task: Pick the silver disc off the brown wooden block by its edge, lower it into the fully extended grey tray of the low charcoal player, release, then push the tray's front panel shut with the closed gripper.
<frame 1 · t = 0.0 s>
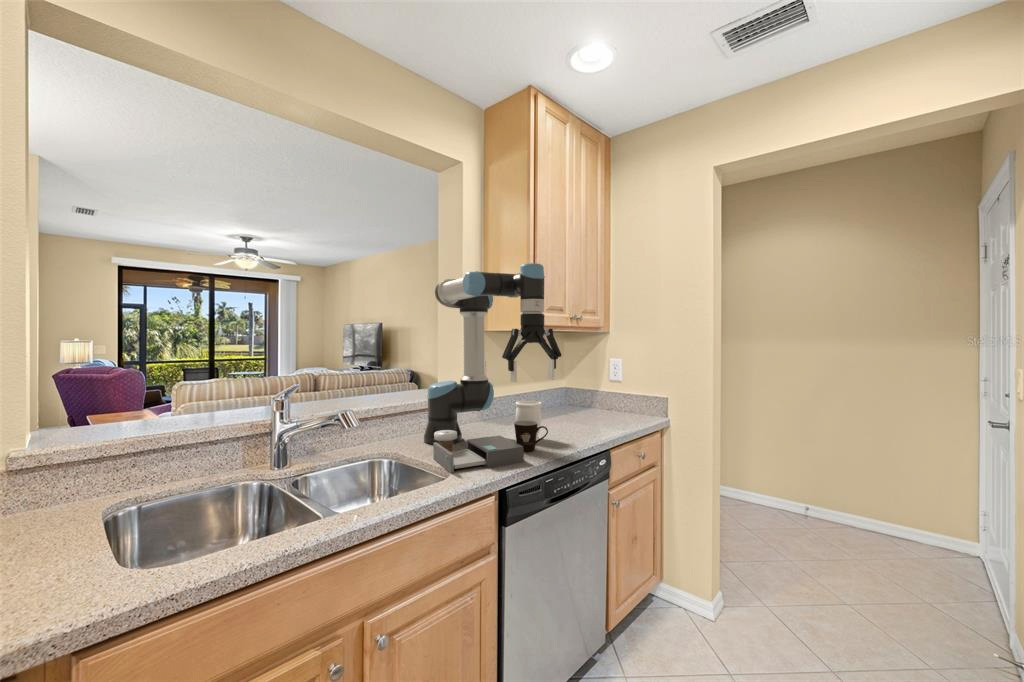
hand: (532, 380, 142), 28 cm above the worktop, fingers open, 13 cm apart
coffee mug: (529, 451, 164), on the worktop
brown wooden block: (445, 455, 159), on the worktop
tray: (459, 454, 149), point 3 cm above the worktop, slide at 11.0 cm
housing: (494, 457, 155), on the worktop
disc: (445, 438, 158), point 6 cm above the worktop, touching brown wooden block
jar: (528, 439, 181), on the worktop
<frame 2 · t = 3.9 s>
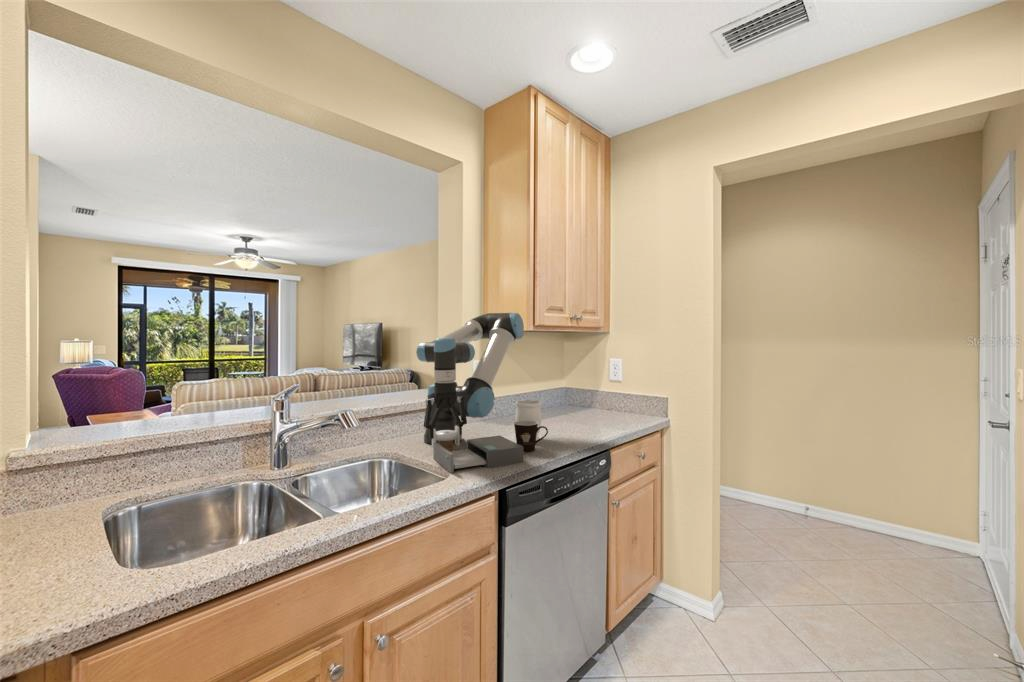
hand: (445, 445, 158), 3 cm above the worktop, fingers closed on disc, 8 cm apart
disc: (445, 438, 158), point 6 cm above the worktop, touching gripper, brown wooden block
everything else where it was.
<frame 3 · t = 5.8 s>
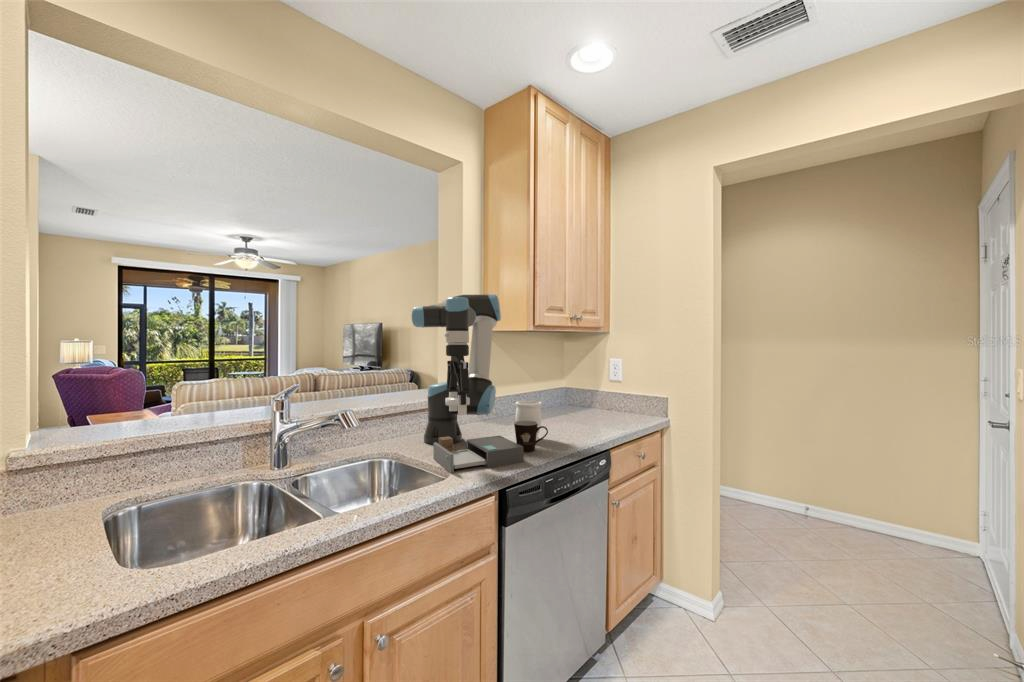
hand: (457, 412, 148), 17 cm above the worktop, fingers closed on disc, 8 cm apart
disc: (457, 404, 148), point 20 cm above the worktop, touching gripper
everything else where it was.
when the fingers open (3 cm above the worktop, at t = 7.9 s): disc drops 4 cm, resting on tray.
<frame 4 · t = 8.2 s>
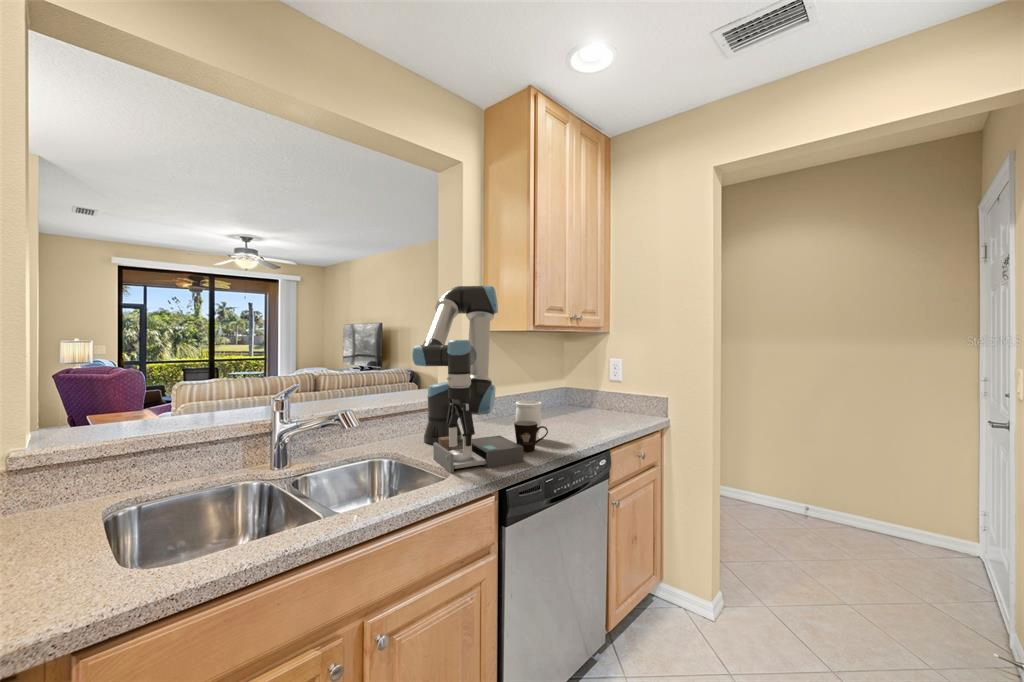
hand: (460, 451, 149), 4 cm above the worktop, fingers open, 12 cm apart
tray: (459, 454, 149), point 3 cm above the worktop, slide at 11.0 cm, touching disc
disc: (460, 458, 149), point 2 cm above the worktop, touching tray
everything else where it was.
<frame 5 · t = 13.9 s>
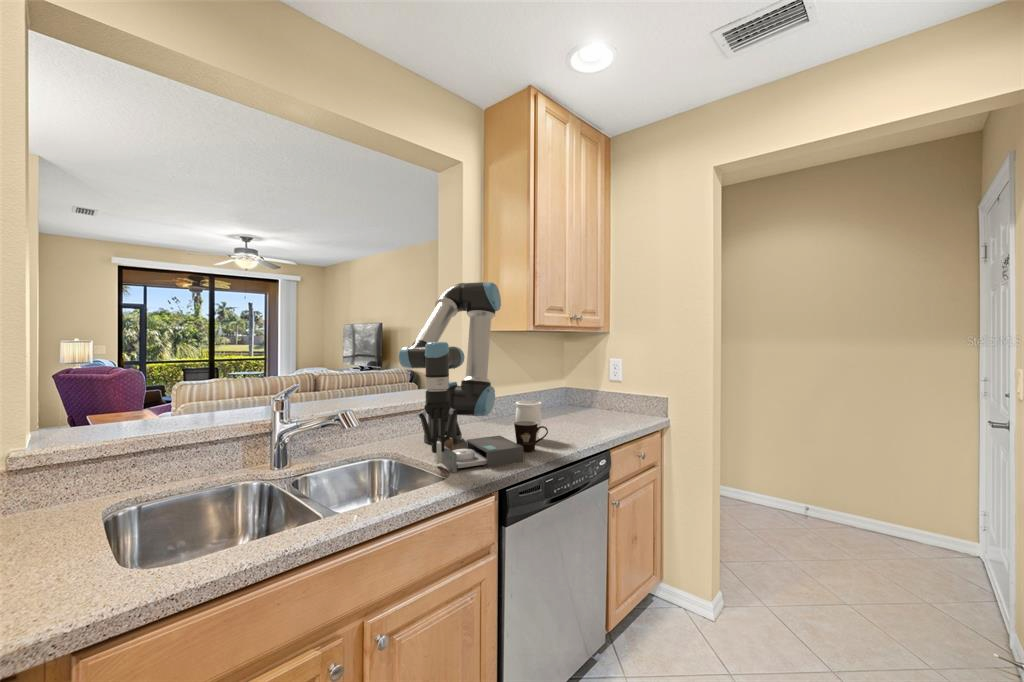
hand: (438, 462, 145), 1 cm above the worktop, fingers closed
tray: (461, 454, 149), point 3 cm above the worktop, slide at 10.0 cm, touching disc, gripper
disc: (462, 457, 149), point 2 cm above the worktop, touching tray
everything else where it was.
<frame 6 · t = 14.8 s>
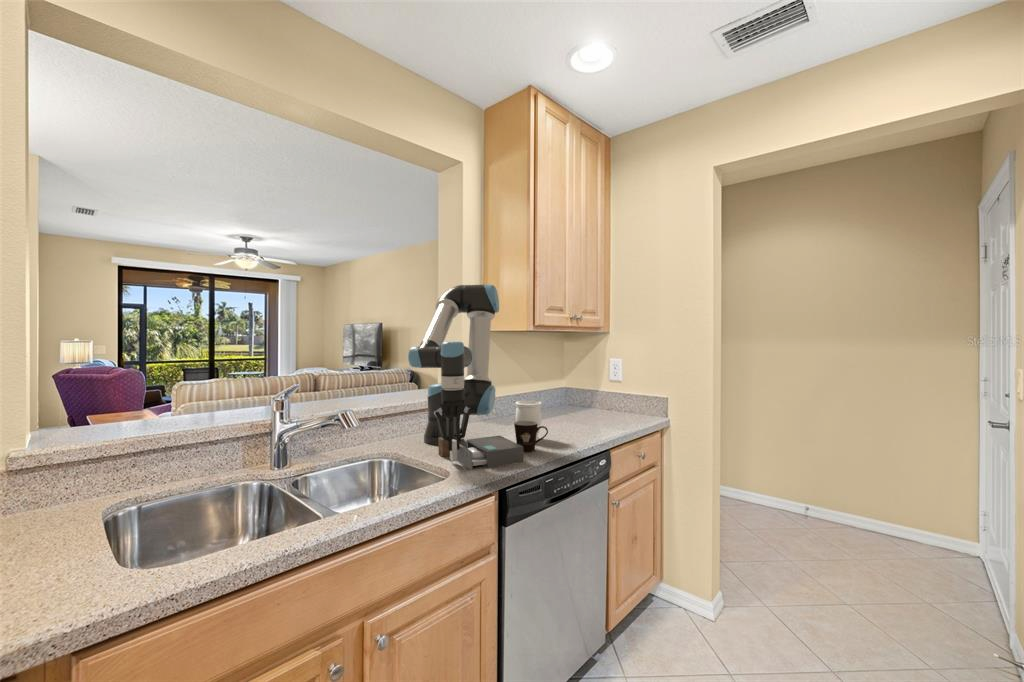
hand: (453, 459, 148), 1 cm above the worktop, fingers closed
tray: (476, 452, 151), point 3 cm above the worktop, slide at 4.7 cm, touching disc, gripper
disc: (477, 455, 152), point 2 cm above the worktop, touching tray
everything else where it was.
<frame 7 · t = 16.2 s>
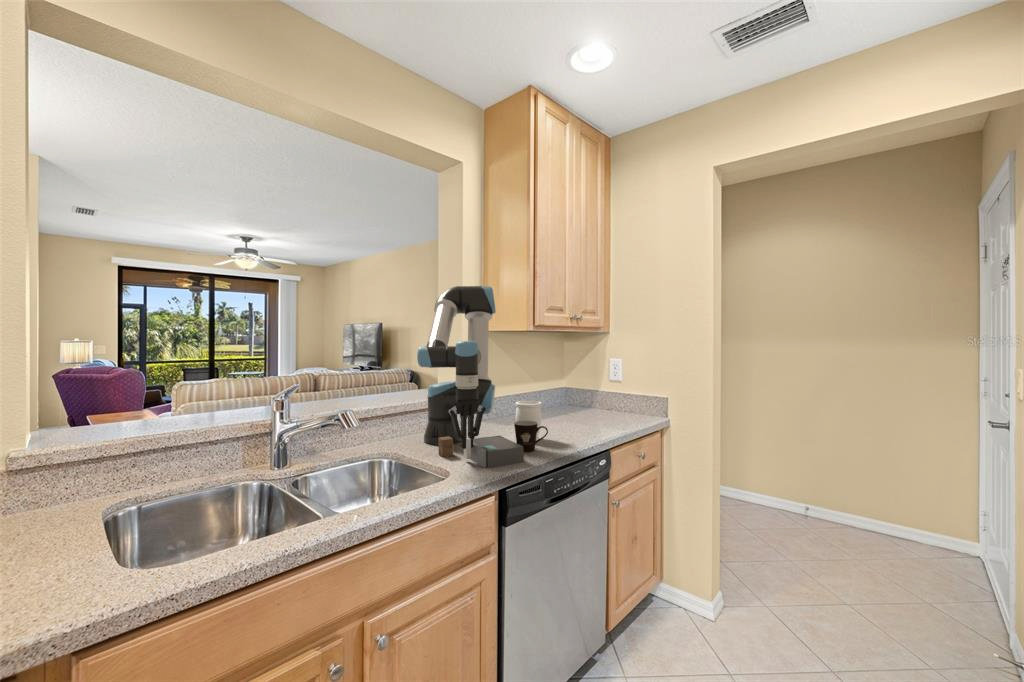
hand: (467, 457, 150), 1 cm above the worktop, fingers closed
tray: (489, 450, 154), point 3 cm above the worktop, slide at -0.1 cm, touching disc, gripper
disc: (490, 453, 154), point 2 cm above the worktop, touching tray
everything else where it was.
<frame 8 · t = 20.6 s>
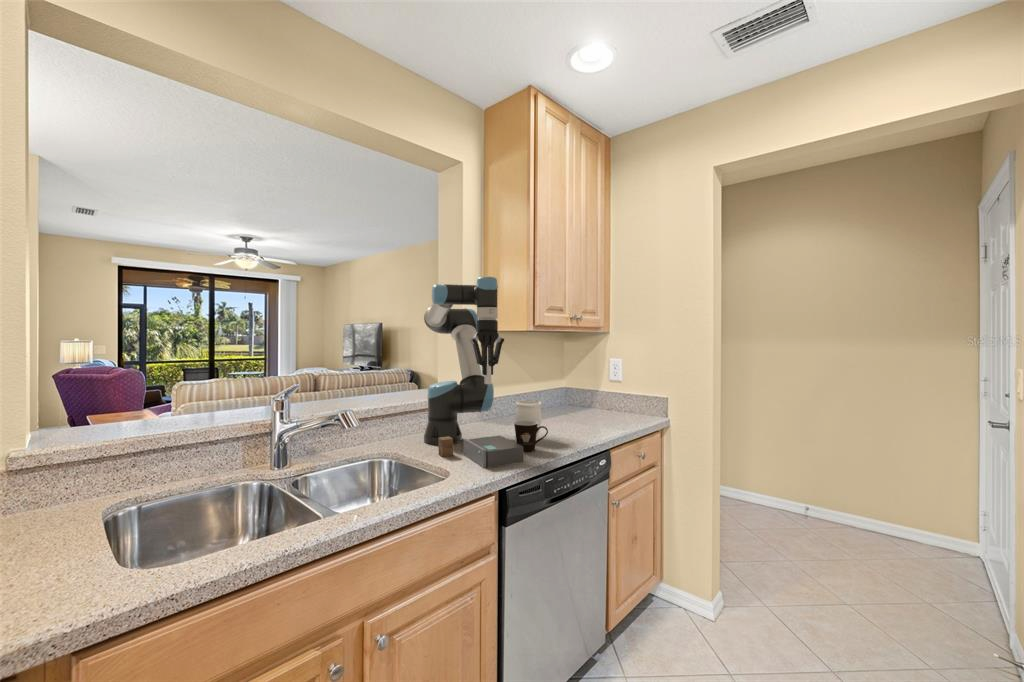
hand: (487, 383, 164), 24 cm above the worktop, fingers closed
tray: (489, 450, 154), point 3 cm above the worktop, slide at 0.0 cm, touching disc
everything else where it was.
at the end: tray slide at 0.0 cm; disc inside the target area on the housing (1.2 cm from its centre), point 1.6 cm above the housing's base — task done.
